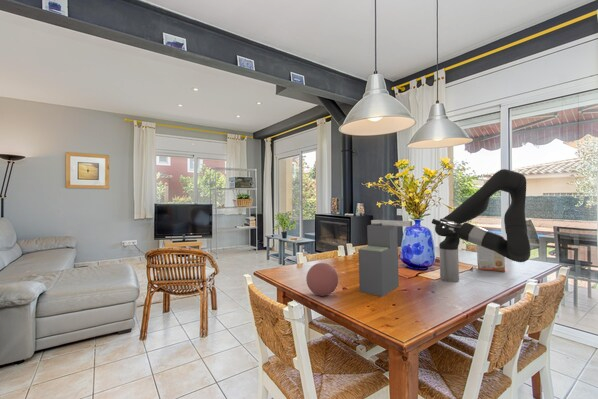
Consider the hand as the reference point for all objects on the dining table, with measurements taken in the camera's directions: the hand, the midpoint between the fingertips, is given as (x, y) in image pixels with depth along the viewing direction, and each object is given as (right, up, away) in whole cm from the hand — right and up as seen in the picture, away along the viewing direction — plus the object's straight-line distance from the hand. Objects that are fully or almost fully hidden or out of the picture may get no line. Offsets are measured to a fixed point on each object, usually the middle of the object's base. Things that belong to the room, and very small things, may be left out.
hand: (436, 220), depth 133 cm
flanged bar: (-18, -3, +13) cm, 22 cm away
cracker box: (+54, -34, +42) cm, 77 cm away
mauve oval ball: (-53, -37, +7) cm, 65 cm away
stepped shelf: (-23, -36, +11) cm, 44 cm away
